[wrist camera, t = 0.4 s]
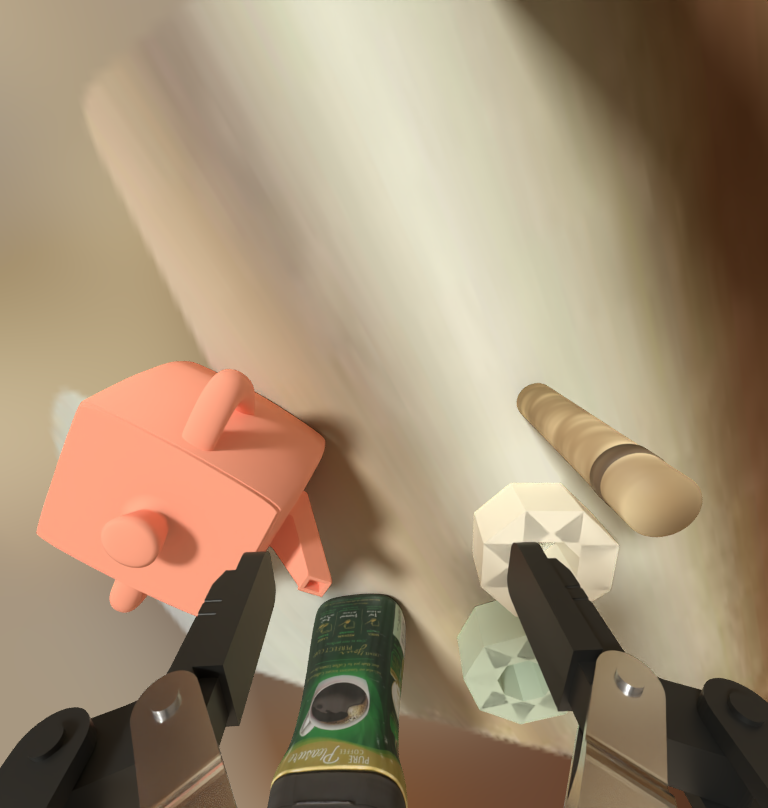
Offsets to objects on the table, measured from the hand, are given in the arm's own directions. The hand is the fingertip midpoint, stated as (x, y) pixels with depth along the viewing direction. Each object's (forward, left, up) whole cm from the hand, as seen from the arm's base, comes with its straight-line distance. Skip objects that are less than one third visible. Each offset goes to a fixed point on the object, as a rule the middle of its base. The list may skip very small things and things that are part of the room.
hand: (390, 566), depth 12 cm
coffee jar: (+21, +15, -21) cm, 33 cm away
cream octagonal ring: (+1, +19, -21) cm, 28 cm away
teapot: (+14, -5, -21) cm, 26 cm away
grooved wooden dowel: (-8, +9, -21) cm, 24 cm away
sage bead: (+11, +28, -21) cm, 36 cm away
